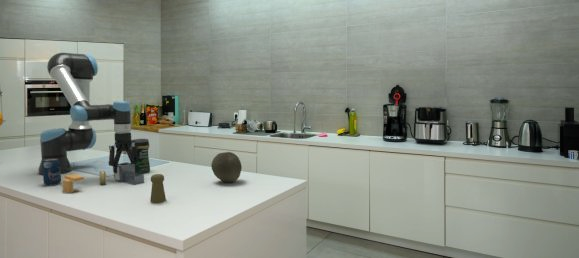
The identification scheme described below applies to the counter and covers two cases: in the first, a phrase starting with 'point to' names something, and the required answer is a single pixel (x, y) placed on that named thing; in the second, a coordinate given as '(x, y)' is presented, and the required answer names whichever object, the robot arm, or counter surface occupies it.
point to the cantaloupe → (226, 166)
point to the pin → (102, 178)
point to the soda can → (51, 172)
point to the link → (129, 174)
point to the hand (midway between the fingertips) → (124, 177)
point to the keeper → (70, 182)
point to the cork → (157, 189)
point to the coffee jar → (142, 155)
